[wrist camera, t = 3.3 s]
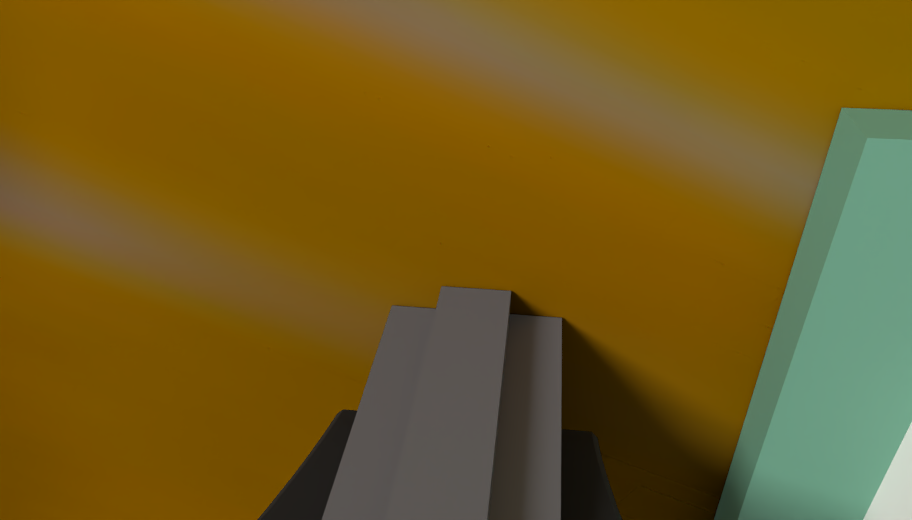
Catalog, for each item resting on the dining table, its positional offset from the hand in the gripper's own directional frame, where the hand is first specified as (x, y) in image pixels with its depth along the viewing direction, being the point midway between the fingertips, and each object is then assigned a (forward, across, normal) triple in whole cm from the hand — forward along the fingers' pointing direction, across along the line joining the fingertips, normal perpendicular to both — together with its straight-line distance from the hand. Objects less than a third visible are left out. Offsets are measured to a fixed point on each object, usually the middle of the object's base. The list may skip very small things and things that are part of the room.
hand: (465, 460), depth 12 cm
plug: (+2, 0, +1) cm, 2 cm away
